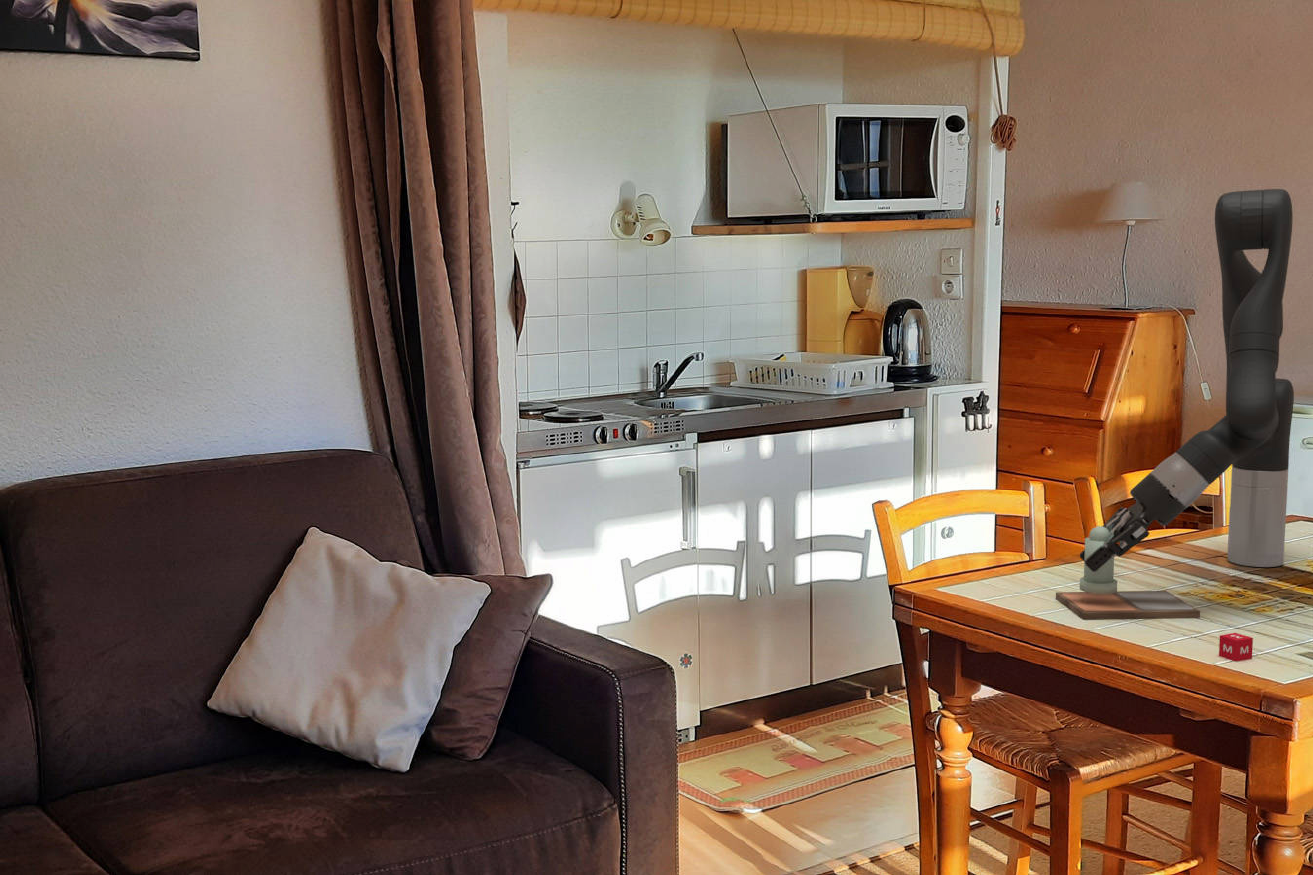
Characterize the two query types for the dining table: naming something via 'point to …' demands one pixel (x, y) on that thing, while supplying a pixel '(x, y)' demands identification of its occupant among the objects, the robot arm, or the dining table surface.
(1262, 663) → the dining table surface
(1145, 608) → the brown flat rectangular board
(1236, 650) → the dice
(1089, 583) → the pawn
